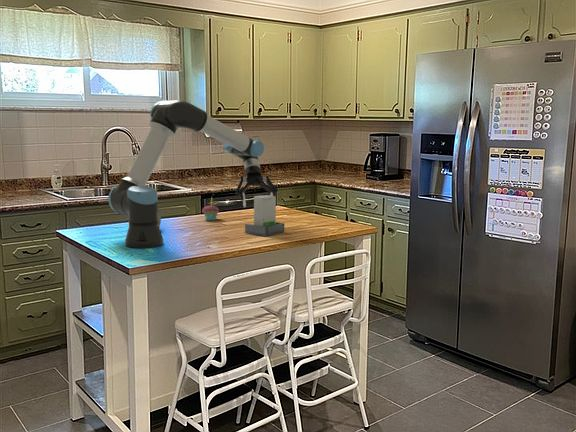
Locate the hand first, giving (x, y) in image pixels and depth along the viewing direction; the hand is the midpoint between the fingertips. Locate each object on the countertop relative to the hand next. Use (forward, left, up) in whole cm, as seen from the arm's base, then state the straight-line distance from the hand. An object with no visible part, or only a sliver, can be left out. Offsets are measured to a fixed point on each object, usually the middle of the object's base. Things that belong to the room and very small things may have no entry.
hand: (259, 205), depth 266 cm
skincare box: (-6, -8, -10) cm, 15 cm away
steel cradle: (-6, -9, -11) cm, 15 cm away
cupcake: (+1, +33, -11) cm, 35 cm away
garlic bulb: (-33, +37, -11) cm, 51 cm away
